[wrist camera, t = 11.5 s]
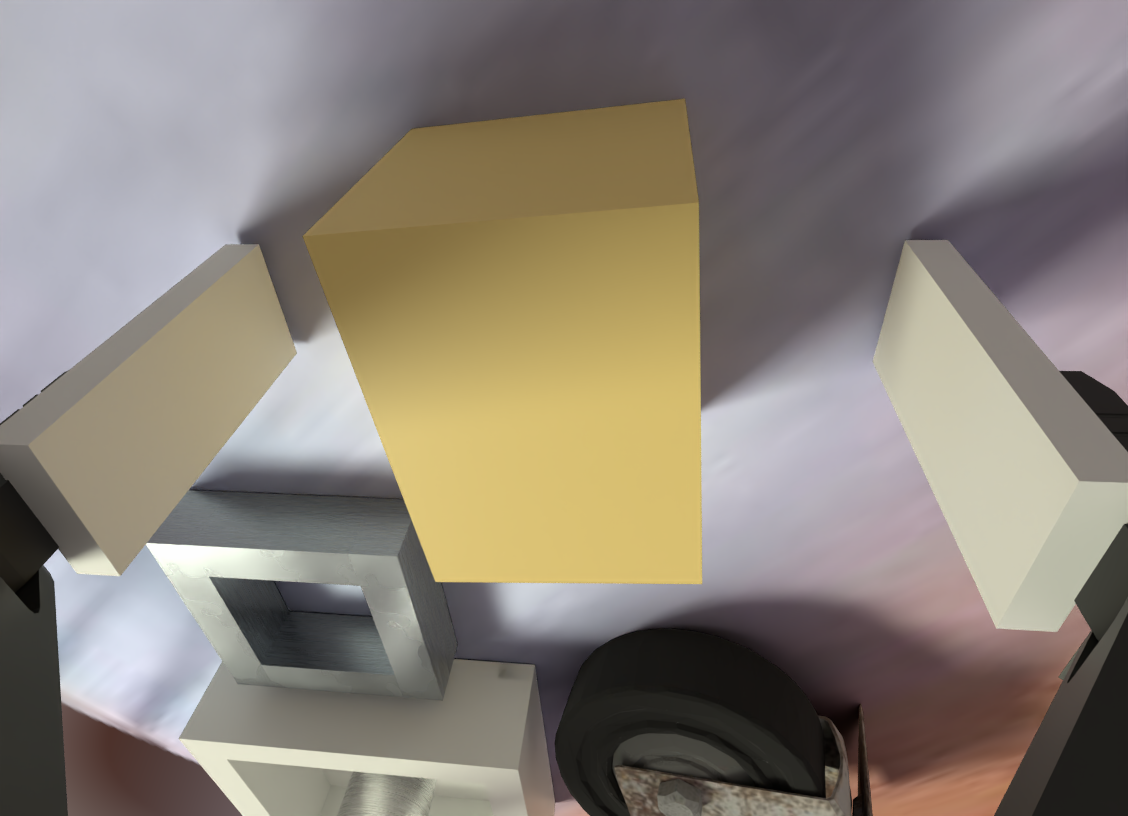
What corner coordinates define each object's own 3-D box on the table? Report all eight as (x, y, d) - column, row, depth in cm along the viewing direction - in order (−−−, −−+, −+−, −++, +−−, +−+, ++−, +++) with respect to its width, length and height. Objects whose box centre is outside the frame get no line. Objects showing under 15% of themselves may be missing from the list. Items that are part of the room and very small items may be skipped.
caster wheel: (574, 573, 24) (882, 594, 20) (618, 784, 28) (876, 830, 25) (504, 733, 18) (913, 798, 15) (573, 963, 23) (897, 1054, 19)
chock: (413, 127, 12) (302, 235, 9) (684, 96, 12) (699, 202, 8) (487, 418, 17) (435, 581, 13) (690, 411, 16) (702, 584, 12)
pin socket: (186, 490, 19) (144, 543, 18) (418, 499, 19) (397, 556, 17) (265, 631, 24) (237, 684, 22) (457, 644, 23) (442, 700, 21)
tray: (232, 643, 24) (178, 738, 22) (534, 664, 23) (517, 769, 20) (318, 780, 31) (285, 866, 28) (555, 804, 30) (544, 896, 27)
